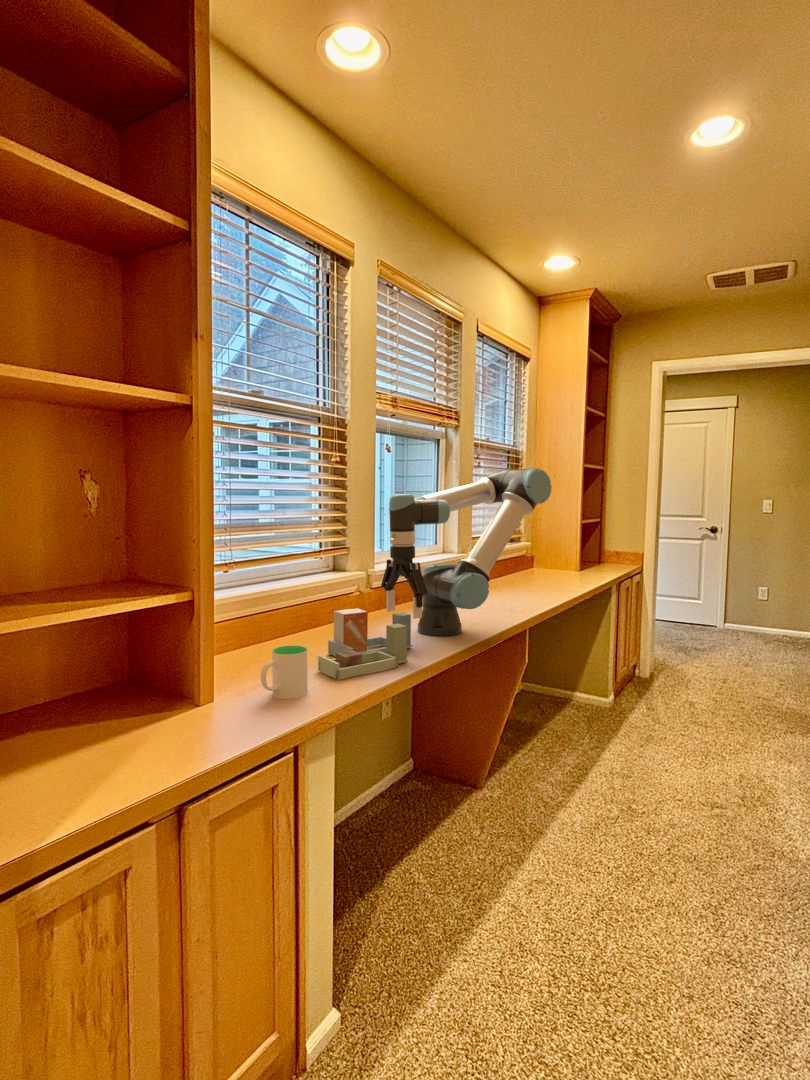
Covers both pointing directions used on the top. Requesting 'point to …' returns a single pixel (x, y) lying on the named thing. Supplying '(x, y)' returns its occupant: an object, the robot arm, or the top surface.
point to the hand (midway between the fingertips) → (403, 614)
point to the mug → (287, 672)
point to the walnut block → (348, 658)
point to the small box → (351, 628)
